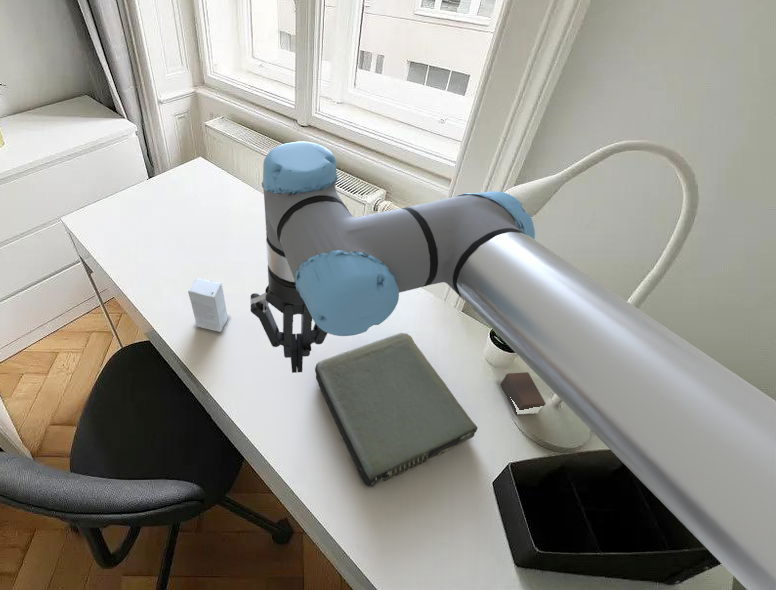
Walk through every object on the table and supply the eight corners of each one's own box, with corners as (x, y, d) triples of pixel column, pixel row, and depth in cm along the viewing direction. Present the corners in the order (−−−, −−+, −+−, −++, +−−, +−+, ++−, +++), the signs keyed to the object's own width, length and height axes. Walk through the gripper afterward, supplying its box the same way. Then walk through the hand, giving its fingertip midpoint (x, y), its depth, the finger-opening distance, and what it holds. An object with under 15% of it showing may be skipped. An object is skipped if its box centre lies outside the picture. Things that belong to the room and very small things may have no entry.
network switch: (376, 507, 64) (380, 496, 61) (300, 382, 80) (301, 368, 77) (481, 433, 72) (490, 420, 69) (393, 333, 88) (397, 319, 85)
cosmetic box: (228, 317, 92) (222, 282, 85) (221, 333, 89) (214, 298, 81) (204, 311, 94) (196, 276, 86) (195, 326, 90) (187, 291, 83)
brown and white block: (537, 414, 74) (546, 403, 72) (515, 415, 74) (523, 405, 72) (520, 382, 79) (528, 372, 76) (500, 384, 79) (507, 373, 76)
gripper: (345, 238, 53) (333, 341, 68) (244, 243, 53) (255, 346, 68) (357, 282, 47) (341, 384, 62) (244, 288, 47) (255, 389, 62)
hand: (296, 364), depth 65 cm, fingers closed
